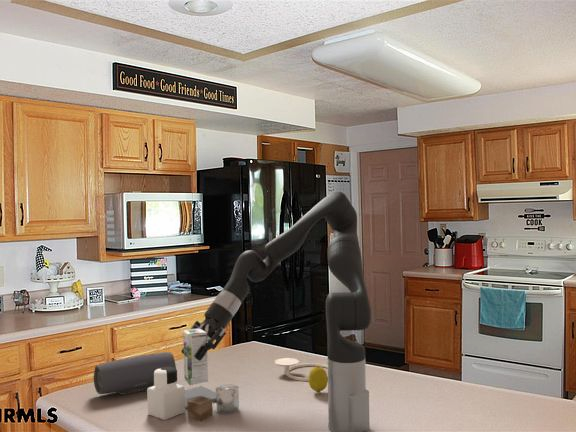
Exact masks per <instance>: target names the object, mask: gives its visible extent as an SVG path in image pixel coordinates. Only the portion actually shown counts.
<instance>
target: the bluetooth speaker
mask: <svg viewBox="0 0 576 432" xmlns="http://www.w3.org/2000/svg"><path fill="white" fill-rule="evenodd" d="M162 367H173V368H175V369H176V370H177V366H176V360H175V358H174V354H173V353H172V352H169V351H168V352H156V353H150V354H145V355H137V356H132V357H126V358H122V359H118V360H113V361H108V362H104V363H101V364H98V365H95V366H94V370H93V371H94V373H93V385H94V390H95V392H96V393H97V394H99V395H107V394H114V393H118V394H119V395H125V394H126V395H127V394H130V393H131V394H132V393H136V392H140V391H145V390H147V388H149V387H152V386H155V385H154V371H155V370H157V369H159V368H162Z"/></svg>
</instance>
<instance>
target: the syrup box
mask: <svg viewBox="0 0 576 432" xmlns="http://www.w3.org/2000/svg"><path fill="white" fill-rule="evenodd" d="M182 334H183V335H182V336H183V339H182V341H183V348H184V354H183V373H184V378H183V379H184V381H185V382H186V383H187V384H188V385H189V386H192V385H197V384H203V383H208V382H209V369H208V367H209V366H208V364H209V363H208V351H207V352H206V354H205V355H204V357H203V358H202V359H201V360H200V361H199V360H197V359H196V358H195V357H194V356H195V354H196V353H197V351H198V350H199V348H200V347H201V345H202V346H203V342H204V340H205V339H206V338H205V337H206V335H207V333H206V332H205V331H204V330H202V329H191V328H190V329H185V330H183V332H182Z"/></svg>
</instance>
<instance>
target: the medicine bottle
mask: <svg viewBox="0 0 576 432" xmlns="http://www.w3.org/2000/svg"><path fill="white" fill-rule="evenodd" d="M185 390H186V388H185V385H181V384H178V370H177V368H176V369H175V368H173V367H162V368H159V369H157V370H155V371H154V386H152V387H149V388H147V389H146V393H147V397H146V398H147V414H148V415H150V416H152V417H153V418H157V419H160V420H162V421H166V420H168V419H171V418H173V417H176V416H178V415H181V414H183V413H185V412H186V409H185Z"/></svg>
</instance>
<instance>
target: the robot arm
mask: <svg viewBox="0 0 576 432" xmlns="http://www.w3.org/2000/svg"><path fill="white" fill-rule="evenodd" d="M323 218H324V220H325V221H326V222H327V224H328V225H329V227H330V229H331V231H332V232H333V238H332V239H331V241H329V243H328V245H327V250H326V251H327V252H326V253H327V265H328V268H329V271H330V273H331V274H332V275H333V277H335V278H336V279H337V280H338V281H339V282H340V283H341V284H343V285H344V286H345V288H347V289H348V290H349V292H348V291H347V292H345V291H343V292H341V291H340V292H330V293H328V294H327V296H326V299H325V319H326V333H327V336H326V337H327V365H328V368H327V376H328V382H327V395H328V396H327V398H328V399H327V405H328V406H327V407H328V409H327V410H328V411H327V412H328V429H329V430H330V431H331V432H366V431H369V430H370V428H371V427H370V391H369V390H368V389H366V387H367V386H366V385H367V384H366V383H367V382H366V381H367V380H366V378H367V377H366V376H367V375H366V348H365V346H364V345H363V344H361V343H360V342H356V341H354V340H351V339H348V338H346V337H345V336H343V335H342V334H341V331H342V332H343V331H347V332H348V331H364V330H367V329H368V328H369V327H370V325H371V322H372V311H371V303H370V298H369V294H368V291H367V287H366V282H365V277H364V271H363V270H364V269H363V260H362V259H363V258H362V253H361V248H360V242H359V237H358V214H357V212H356V209H355V207H354V206H353V205H352V203H351V202H350V199H349V198H348V197H347V196H346V193H344V192H342V191H335V192H331V193H330V194H328V195H326V196H325V197H324V198H322V199H321V200H320V201H319V202H317V204H315V205H314V206H313V207H312V208H311V209H310V210H309V211H307V212H306V213H305V214H303V216H302V217H300V218H299V220H297V221H296V223H294V224H293V225H291V226H290V227H289V228H288V229H287V230H285V231H284V232H282V233H281V234H279V235H277V236H276V237H275V238H273V239H272V240H270V241H269V242H268V243H267V244H265V246H264V251H265V254H266V257H265V258H264V259H262V258H261V257H260V255H259V254H258V253H257V252H256V250H253V249H249V250H245V251H243V252H242V253H241V254H240V255H239V256H238V258H237V260H236V262H235V264H234V266H233V270H232V273H231V275H230V278H229V280H228V281H227V283H226V284H225V285H224V287H223V288H222V289H221V291H219V293H218V294H217V296H215V298H214V300H213V301H212V303H211V304H210V305H209V307H208V308H207V310H206V311H205V313H204V318H205V319H204V320H203V321H202V322H199V321H198V320H196V321H195V322H194V323H193V325H192V326H191V328H190V329H202V330H204V331H205V332H206V333H207V335H206V337H205V338H206V339H205V340H204V342H203V346H202V345H201V347H200V348H199V350H198V351H197V353H196V354H195V356H194V357H195V358H196V359H197V360H199V361H200V360H201V359H202V358H203V357H204V355H205V354H206V352H207V353H208V351H210V350H215V349H216V348H217V347H218V345H219V344H220V343H221V341H222V340H223V338H224V337H225V336H226V334H227V332H226V331H225V329H226V328H227V327H228V325H229V324H230V322H231V321H232V319H233V318H234V316H235V315H236V313H237V312H238V311H239V308H240V307H241V305H242V303H243V301H244V300H245V299H246V297H247V295H248V294H249V292H250V290H251V288H250V285H249V282H248V280H250V282H253V283H259V282H262V281H264V280H265V279H266V278H267V277H268V276H270V274H271V273H272V272H273V270H275V268H276V267H277V266H278V265H279V264H280V263H281V262H283V260H286V259H287V258H289V257H290V256H292V255H293V254H295V252H297V251H298V250H299V249H300V248H301V247H302V245H303V244H304V242H305V240H306V238H307V236H308V234H309V232H310V231H311V229H312V228H313V227H314V226H315V224H316V223H317V222H319V221H320V220H321V219H323ZM181 353H182V354H183V355H184V347H183V348H182V349H181Z"/></svg>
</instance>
